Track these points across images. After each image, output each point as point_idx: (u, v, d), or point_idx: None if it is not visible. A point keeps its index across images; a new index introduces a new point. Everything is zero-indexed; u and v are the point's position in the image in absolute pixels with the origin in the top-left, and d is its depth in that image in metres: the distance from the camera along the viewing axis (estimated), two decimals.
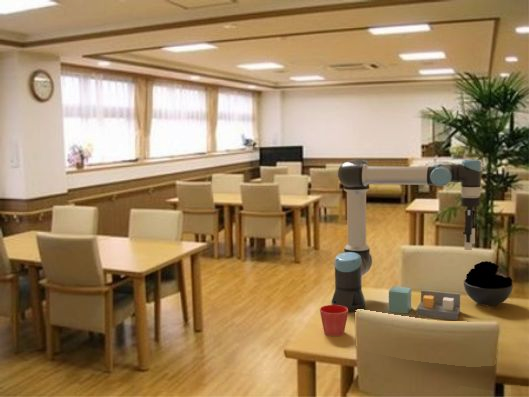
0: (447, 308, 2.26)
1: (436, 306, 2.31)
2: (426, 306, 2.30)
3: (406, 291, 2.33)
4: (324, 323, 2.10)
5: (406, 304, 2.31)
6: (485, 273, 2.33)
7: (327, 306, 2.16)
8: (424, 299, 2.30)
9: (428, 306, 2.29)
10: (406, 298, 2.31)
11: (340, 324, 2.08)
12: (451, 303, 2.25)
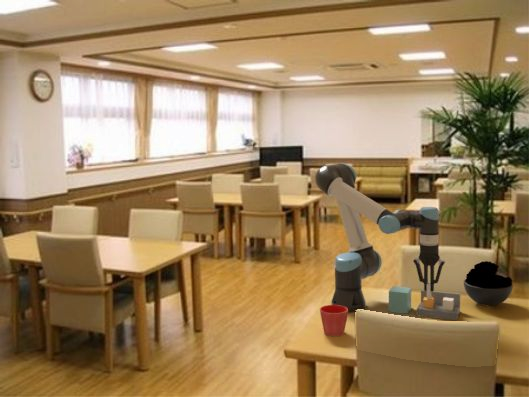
0: (447, 308, 2.26)
1: (436, 306, 2.31)
2: None
3: (406, 291, 2.33)
4: (324, 323, 2.10)
5: (406, 304, 2.31)
6: (485, 273, 2.33)
7: (327, 306, 2.16)
8: (424, 301, 2.30)
9: None
10: (406, 298, 2.31)
11: (340, 324, 2.08)
12: (451, 303, 2.25)
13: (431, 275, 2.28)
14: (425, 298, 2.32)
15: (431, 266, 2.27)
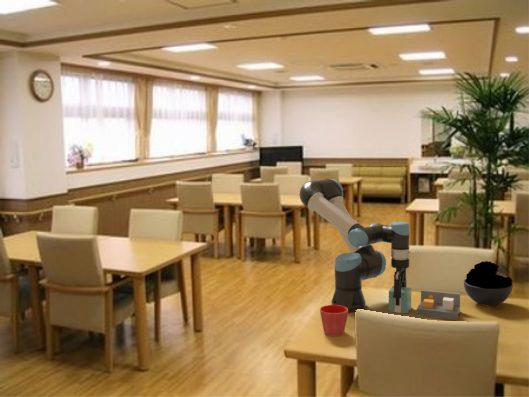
0: (447, 308, 2.26)
1: (436, 306, 2.31)
2: None
3: (406, 291, 2.33)
4: (324, 323, 2.10)
5: (406, 304, 2.31)
6: (485, 273, 2.33)
7: (327, 306, 2.16)
8: (424, 303, 2.30)
9: None
10: (406, 298, 2.31)
11: (340, 324, 2.08)
12: (451, 303, 2.25)
13: (404, 284, 2.39)
14: (425, 300, 2.32)
15: (405, 277, 2.36)
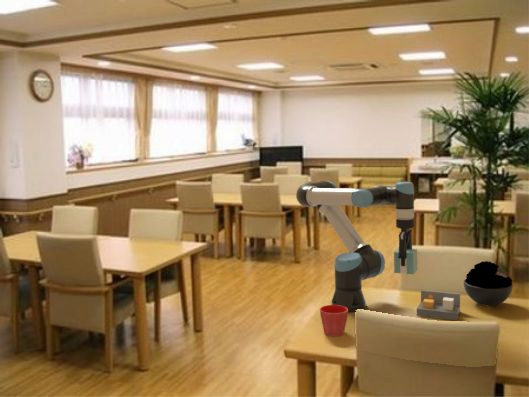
0: (447, 308, 2.26)
1: (436, 306, 2.31)
2: None
3: (412, 252, 2.29)
4: (324, 323, 2.10)
5: (412, 264, 2.28)
6: (485, 273, 2.33)
7: (327, 306, 2.16)
8: (424, 303, 2.30)
9: None
10: (412, 258, 2.27)
11: (340, 324, 2.08)
12: (451, 303, 2.25)
13: (410, 246, 2.35)
14: (425, 300, 2.32)
15: (410, 238, 2.33)
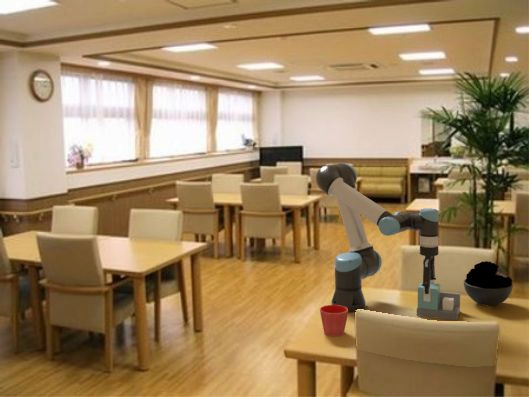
0: (447, 308, 2.26)
1: None
2: None
3: (436, 287, 2.27)
4: (324, 323, 2.10)
5: (436, 300, 2.26)
6: (485, 273, 2.33)
7: (327, 306, 2.16)
8: None
9: None
10: (436, 294, 2.25)
11: (340, 324, 2.08)
12: (451, 303, 2.25)
13: (433, 272, 2.32)
14: None
15: (433, 265, 2.30)
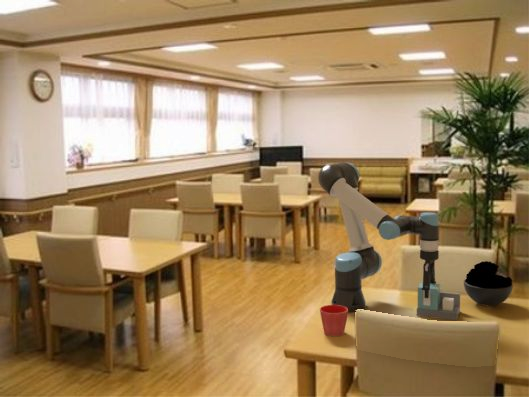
0: (447, 308, 2.26)
1: None
2: None
3: (436, 287, 2.27)
4: (324, 323, 2.10)
5: (436, 301, 2.25)
6: (485, 273, 2.33)
7: (327, 306, 2.16)
8: None
9: None
10: (436, 294, 2.25)
11: (340, 324, 2.08)
12: (451, 303, 2.25)
13: (433, 276, 2.33)
14: None
15: (434, 269, 2.30)
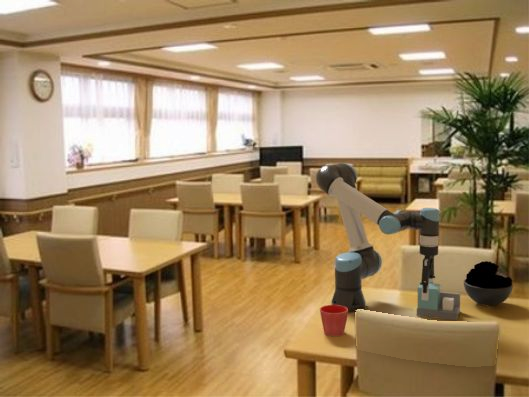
0: (447, 308, 2.26)
1: None
2: None
3: (436, 287, 2.27)
4: (324, 323, 2.10)
5: (436, 301, 2.25)
6: (485, 273, 2.33)
7: (327, 306, 2.16)
8: None
9: None
10: (436, 294, 2.25)
11: (340, 324, 2.08)
12: (451, 303, 2.25)
13: (432, 271, 2.33)
14: None
15: (433, 264, 2.30)
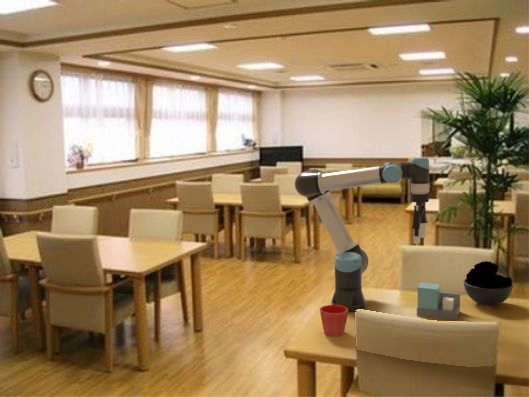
0: (447, 308, 2.26)
1: None
2: None
3: (436, 287, 2.27)
4: (324, 323, 2.10)
5: (436, 301, 2.25)
6: (485, 273, 2.33)
7: (327, 306, 2.16)
8: None
9: None
10: (436, 294, 2.25)
11: (340, 324, 2.08)
12: (451, 303, 2.25)
13: (424, 217, 2.45)
14: None
15: (425, 211, 2.42)
